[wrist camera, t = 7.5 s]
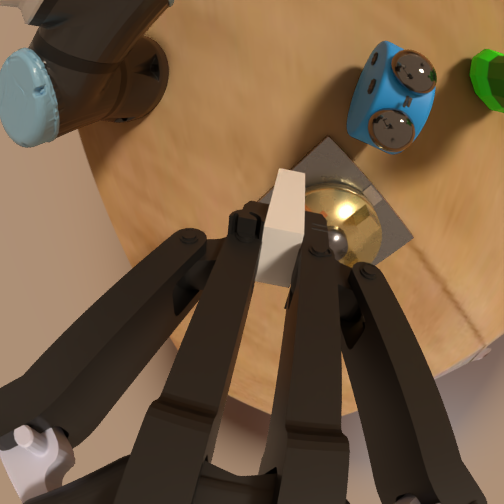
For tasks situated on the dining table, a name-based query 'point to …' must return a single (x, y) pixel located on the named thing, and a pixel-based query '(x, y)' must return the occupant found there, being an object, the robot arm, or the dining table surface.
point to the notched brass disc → (346, 221)
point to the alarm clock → (392, 98)
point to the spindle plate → (347, 173)
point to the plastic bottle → (489, 78)
